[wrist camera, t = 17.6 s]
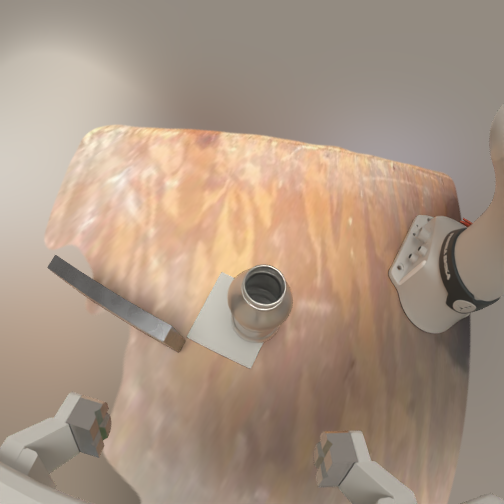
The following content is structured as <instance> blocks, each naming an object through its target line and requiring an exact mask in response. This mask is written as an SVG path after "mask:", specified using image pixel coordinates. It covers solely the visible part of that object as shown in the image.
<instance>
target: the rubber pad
mask: <svg viewBox="0 0 504 504" xmlns="http://www.w3.org/2000/svg"><path fill="white" fill-rule="evenodd" d="M233 280H234V278H233V277H231V276H229V275H227V274H225V273H223V272H221V274H220V276H219V278H218V280H217V281H216V283H215V285H214V287H213V289H212V291H211V293H210V294H209V296H208V298H207V300H206V302H205V304H204V305H203V307H202V309H201V311H200V313H199V315H198V317H197V318H196V320H195V322H194V324H193V326H192V328H191V330H190V332H189V333H188V335H187V338H189V339H191V340H192V341H194V342H196V343H198V344H200V345H202V346H204V347H206V348H208V349H210V350H212V351H214V352H216V353H218V354H220V355H222V356H224V357H226V358H228V359H230V360H232V361H234V362H236V363H239V364H241V365H243V366H245V367H247V368H249V369H251V367H252V365H253V363H254V361H255V359H256V357H257V355H258V352H259V350H260V348H261V346H262V344H263V342H261V343H252V342H248V341H245V340H243V339H242V338H240V337H239V336H238V335H237V334H236V332H235V331H234V329H233V327H232V324H231V311H230V309H229V306H228V300H227V295H228V289H229V287H230V284H231V283H232V281H233Z"/></svg>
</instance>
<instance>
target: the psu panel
mask: <svg viewBox="0 0 504 504" xmlns="http://www.w3.org/2000/svg"><path fill="white" fill-rule="evenodd" d="M48 269H50V270H51V271H52V272H53V273H55V274H56V275H57V276H59V277H60V278H61V279H63V280H64V281H65V282H66V283H68V284H69V285H70V286H72V287H73V288H75V289H76V290H77V291H79V292H80V293H81V294H83V295H84V296H86V297H87V298H89V299H90V300H92V301H93V302H95V303H96V304H98V305H99V306H101V307H102V308H104V309H106V310H107V311H109V312H111V313H112V314H113V315H115V316H117V317H118V318H120V319H122V320H123V321H125V322H126V323H128V324H130V325H131V326H133V327H135V328H136V329H138V330H140V331H141V332H143V333H145V334H147V335H148V336H150V337H152V338H154V339H155V340H157V341H159V342H161V343H162V344H164V345H166V346H168V347H170V348H171V349H173V350H175V351H177V352H180V350H181V348H182V346H183V344H184V342H185V340H184V339H183V337H182V336H181V335H180V334H179V333H178V332H177V331H176V330H175V329H174V328H173V327H172V326H171V325H169V324H167V323H166V322H164V321H162V320H160V319H158V318H157V317H155V316H153V315H151V314H150V313H148V312H146V311H144V310H143V309H141V308H139V307H137V306H136V305H134V304H132V303H131V302H129V301H127V300H125V299H124V298H122V297H120V296H119V295H117V294H116V293H114V292H112V291H111V290H109V289H107V288H106V287H104V286H103V285H101V284H99V283H98V282H96V281H95V280H93V279H91V278H90V277H88V276H87V275H85V274H84V273H82V272H80V271H79V270H77V269H76V268H74V267H73V266H71V265H70V264H68V263H67V262H65V261H64V260H63V259H61V258H59V257H58V256H57V255H55V256H54V258H53V259H52V261H51V263H50V264H49V266H48Z"/></svg>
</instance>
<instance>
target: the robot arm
mask: <svg viewBox="0 0 504 504" xmlns="http://www.w3.org/2000/svg"><path fill="white" fill-rule="evenodd" d="M489 147H490V155H491V159H492V163H493V166H494V170H495V178H496V188H495V193H494V197H493V200H492V202H491V204H490V205H489V207H488V208H487V209H486V211H485V212H484V213H483V214H482V215H481V216H480V217H479V218H478V219H477V220H476V221H475V222H474V223H471V222H470V221H468V220H466V219H463V220H464V221H465V222H464V221H460V223H459V222H457V221H455V220H453V219H451V218H449V217H445V216H436V217H431V216H427V215H418V216H416V217H415V218H414V220H413V222H412V225H411V227H410V229H409V231H408V233H407V235H406V237H405V239H404V241H403V244H402V246H401V248H400V250H399V252H398V254H397V256H396V258H395V260H394V262H393V264H392V266H391V268H390V270H389V277H390V279H391V281H392V283H393V284H394V286H395V287H396V288H397V291H398V294H399V298H400V301H401V304H402V307H403V309H404V311H405V313H406V315H407V316H408V318H409V319H410V320H411V321H412V323H413V324H414V325H416V326H417V327H418V328H420V329H421V330H423V331H426V332H429V333H441V332H444V331H446V330H448V329H449V328H450V327H451V326H453V325H454V324H455V323H456V322H458V321H459V320H460V319H462V318H465V317H467V316H468V315H469V314H470V313H471V312H474V311H478V310H480V309H483V308H485V307H487V306H489V305H491V304H493V303H495V302H496V301H498V300H499V298H500V297H501V296H503V295H504V104H503V105H502V106H501V107H500V108H499V110H498V111H497V113H496V115H495V117H494V119H493V122H492V125H491V130H490V138H489ZM427 220H428V221H429V222H428V221H427ZM461 223H462V224H463V225H462V224H461ZM464 225H465V226H466V227H467V228H466V227H465V226H464ZM397 267H398V268H399V269H400V270H398V269H397ZM108 409H109V408H108V404H107V403H106V402H103V401H100V400H97V399H94V398H91V397H87V396H84V395H81V394H78V393H75V392H71V393H69V394H68V396H67V398H66V399H65V401H64V402H63V404H62V406H61V407H60V409H59V410H58V412H57V414H56V415H55V417H54V418H51V417H50V418H48V419H46V420H44V421H42V422H40V423H37V424H35V425H33V426H31V427H28V428H26V429H24V430H22V431H20V432H17V433H15V434H13V435H11V436H8V437H7V438H6V440H5V441H4V443H3V444H2V446H1V448H0V504H94V503H90V502H88V501H85V500H82V499H80V498H77V497H74V496H72V495H69V494H66V493H64V492H62V491H59V490H57V489H56V484H55V482H54V481H53V479H52V478H51V476H50V473H51V472H53V471H54V470H56V469H57V468H59V467H60V466H62V465H63V464H64V463H66V462H68V461H69V460H70V459H72V458H73V457H75V456H76V455H78V454H79V452H82V453H85V454H88V455H92V456H95V457H98V458H99V457H100V455H101V452H102V450H103V448H104V443H103V440H104V439H106V438H108V436H109V433H110V429H111V417H110V415H109V414H108V413H107V411H108ZM320 440H321V441H320V442H319V443H317V444H316V447H315V449H314V455H313V456H314V465H315V466H316V467H317V468H318V471H317V472H316V480H317V486H318V487H338V488H339V489H340V490H341V491H342V493H343V494H344V495H345V496H346V497H347V498H348V499H349V501H350V502H351V503H352V504H417V501H416V498H415V495H414V492H413V491H411V490H410V489H409V488H408V487H406V486H405V485H404V484H403V483H401V482H400V481H399V480H397V479H396V478H395V477H394V476H392V475H391V474H390V473H389V472H388V471H386V470H385V469H384V468H383V467H381V466H380V465H379V464H378V463H377V462H375V461H371V458H370V455H369V452H368V449H367V446H366V442H365V439H364V436H363V433H362V432H361V431H324V432H322V434H321V436H320ZM461 504H504V499H502V498H500V497H498V496H496V495H494V494H491V493H489V494H485V495H482V496H479V497H477V498H474V499H472V500H469V501H466V502H464V503H461Z"/></svg>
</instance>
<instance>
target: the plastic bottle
mask: <svg viewBox="0 0 504 504" xmlns="http://www.w3.org/2000/svg"><path fill="white" fill-rule="evenodd" d="M227 300H228V306H229V309H230V311H231V324H232V327H233V329H234V331H235V332H236V334H237V335H238V336H239V337H240V338H242V339H243V340H245V341H248V342H252V343H261V342H265V341H267V340H269V339H270V338H272V337H273V336H274V335H275V334H276V332H277V330H278V328H279V325H281V324H282V323H283V322H284V321H285V320H286V319H287V318H288V316H289V314H290V312H291V309H292V304H293V297H292V292H291V289H290V287H289V285H288V284H287V282H286V281H285V278H284V276H283V274H282V273H281V272H280V271H279V270H278V269H276V268H275V267H273V266H270V265H258V266H255V267H253V268H251V269H248V270H245V271H243V272H242V273H240V274H239V275H237V276H236V277H235V278H234V280H233V281H232V283H231V284H230V287H229V289H228V295H227Z"/></svg>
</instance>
